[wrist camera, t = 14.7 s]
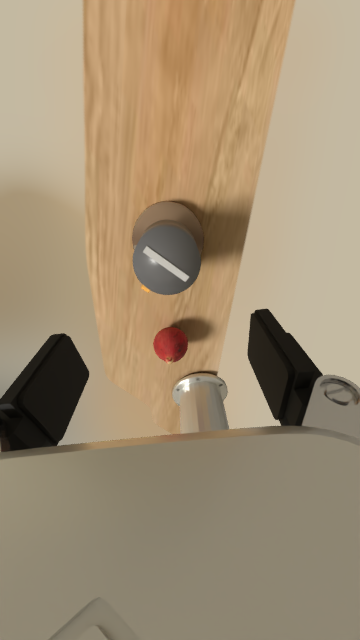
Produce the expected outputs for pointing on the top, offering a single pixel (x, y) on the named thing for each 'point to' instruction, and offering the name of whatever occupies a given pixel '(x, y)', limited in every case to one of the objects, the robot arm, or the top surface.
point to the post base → (171, 213)
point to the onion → (170, 344)
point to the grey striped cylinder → (166, 258)
